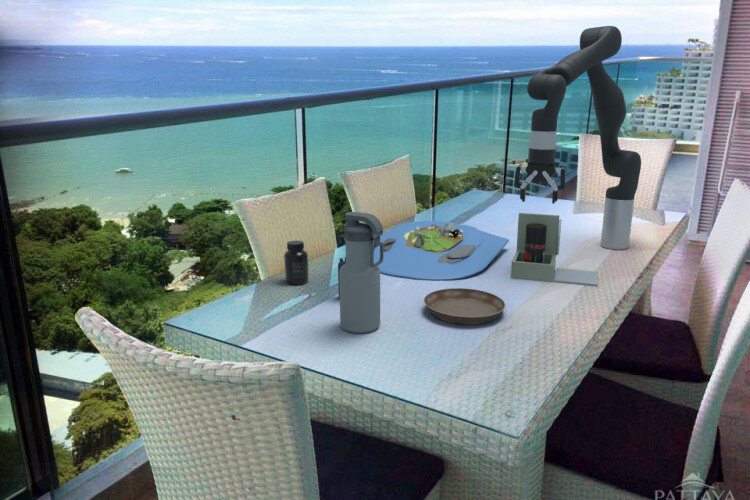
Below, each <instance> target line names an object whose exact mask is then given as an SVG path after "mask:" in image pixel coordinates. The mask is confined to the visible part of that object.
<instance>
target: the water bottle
mask: <svg viewBox="0 0 750 500" xmlns="http://www.w3.org/2000/svg"><path fill="white" fill-rule="evenodd" d="M344 216H345V217H344V218H345V220H346V225H345V226H344V227H343V232H344V233H343V235H344V236H343V237H344V238H343V239H344V241H345V257H346V263H345V264H344V265H342V267H341V268H340V270H339V286H340V300H339V320H340V321H339V322H340V323H339V324H340V326H341V328H342V329H343V330H344V331H346V332H349V333H353V334H366V333H371V332H373V331H376V330H378V328H380V326H381V273H380V269H379V267H378V265H379V264H381V263H382V262H383V242H380V236H381V235H382V234H383V233H384V228H383V227H384V226H383V224H382V222H381V221H380V220H379V218H378V217H377V216H376V215H374V214H373V213H372V214H371V213H368V212H360V211H359V212H358V211H348V212H345V213H344ZM373 242H374V245H373ZM378 246H380V259H379V261H378V262H376V263H375V264H374V250H375V248H376V247H378Z"/></svg>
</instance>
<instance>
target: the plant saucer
mask: <svg viewBox="0 0 750 500" xmlns="http://www.w3.org/2000/svg"><path fill="white" fill-rule="evenodd" d="M423 303H424V304H425V306H426V308H427V310H428V311H429V312H430V313H431V314H432V315H433V316H435V317H436V318H438V319H439V320H442V321H445V322H448V323H453V324H458V325H480V324H484V323H489V322H491V321H492V320H494V319H495V318H498V316H500V315H501V314H502V313H503V311H504V310H505V308H506V303H505V301H504V299H502V298H501V297H500V296H498V295H496V294H494V293H491V292H487V291H484V290H479V289H474V288H473V289H472V288H461V287H460V288H459V287H456V288H455V287H454V288H453V287H451V288H443V289H437V290H435V291H432V292H430V293H428V294H427V295H425V296H424V299H423Z"/></svg>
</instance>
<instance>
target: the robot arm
mask: <svg viewBox="0 0 750 500" xmlns="http://www.w3.org/2000/svg"><path fill="white" fill-rule="evenodd" d="M622 38H623V37H622V33H621V29H619V28H618V27H617V26H614V25H604V26H596V27H589V28H585V29H583V30H582V32H581V34H580V37H579V48H580V49H579V50H577V51H574V52H572V53H570V54H568V55H566V56H565V57H563V58H562V59H560V60H559V61H558V62H557V63H555V65H553V66H550V67H548V68H545V69H542V70H540V71H538V72H536V73H535V74H534V75H532V76H531V77H530V79H529V81H528V82H527V87H526V91H527V93H528V96H529V97H530V98H531V99H532V100H535V101H547V102H546V104H545V106H544V107H543V108H538V109H535V110H533V112H532V115H531V125H530V134H529V139H528V156H527V166H522V165H517V166H516V168H515V176H514V181H513V182H514V184H513V185H514V187H516V188H519V189H520V192H519V199H520V200H521V202H523V203H524V202H526V193H527V192H526V191H527V188H526V187H527V186H528V185H529V183H531V181H532V182H534V183H539V182H541V183H547V182H548V184H549V185H550V186H551V188H552V197H551V200H552V201H551V203H552V204H555V203H557V202H558V197H559V191H560V190H564V189H565V187H566V167H564V166H563V167H560V168H559V167H558V168H557V167H556V163H555V162H556V150H557V141H558V140H557V125H558V117H559V113H560V110H561V107H562V104H563V101H564V99H565V95H566V93H567V87H568V86H569V85H571V84H572V83H573V82H575V81H576V80H577V79H578V78H579V77H581V76H582V75H583V74H584V73H586V74H587V77H588V81H589V86H590V91H591V96H592V101H593V108H594V113H595V116H596V121H597V125H598V132H599V139H600V148H601V158H602V168H603V170H604V173H606V175H607V176H609V177H613V178H619V182H618V184H617V185H615V186H610V187H608V188H606V190H605V199H604V206H603V207H604V208H603V216H602V217H603V218H602V220H603V221H602V228H601V236H600V237H601V238H600V246H601V247H603V248H604V249H605V248H606V249H610V250H627V249H629V248H630V239H631V238H630V237H631V231H632V223H633V215H634V203H635V196H636V194H637V193H636V192H637V189H638V187H639V182H640V181H639V180H640V175H641V169H642V158H641V155H640V154H639V152H637V151H635V150H634V151H633V150H626V149H621V147H620V145H619V132H620V130H621V128H622V125H623V124H624V121H625V119H626V116H627V106H626V101H625V100H626V99H625V96H624V93H623V91H622V89H621V87H620V86H619V85H618V84H617V83H616V82H615V80H614V79H613V78H612V77H611V76H610V75H609V74H608V72H607V70H606V69H605V68H604V67H605V66H604V65H603V62H604V61H606V60H608V59H610V58H612V57H614V56H615V55H616V54H618V53H619V51H620V49H621V47H622V42H623V39H622ZM524 172H526V174H527V175H528V177H526V179H525V180H524V181H523V182H521V175H522V174H523V173H524ZM555 173H557V175H558V177H560V184H557V183H556V181H555V179H554V178H553V176H554V174H555Z"/></svg>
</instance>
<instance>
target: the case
mask: <svg viewBox="0 0 750 500" xmlns="http://www.w3.org/2000/svg"><path fill="white" fill-rule="evenodd" d="M531 223H538V224H544V225H546V226H547V232H546V245H545V259H544V264H542V263H531V262H524V253H525V238H526V225H527V224H531ZM561 233H562V219H560V215H558V214H546V213H545V214H543V213H531V212H530V213H529V212H528V213H527V212H519V213H518V220H517V238H516V250H515V253H514V256H513V257H512V260H511V266H510V267H511V269H510V278H511V279H520V280H531V281H539V282H540V281H541V282H549V283H550V282H552V283H553V281H554V277H555V273H556V264H557V263H556V261H557V256H560V244H561Z"/></svg>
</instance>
